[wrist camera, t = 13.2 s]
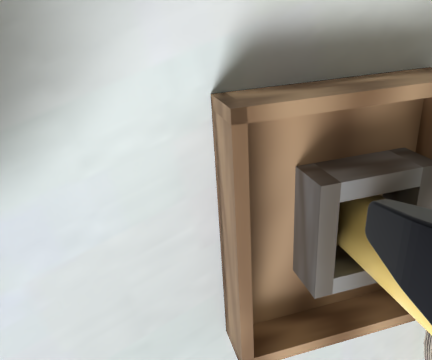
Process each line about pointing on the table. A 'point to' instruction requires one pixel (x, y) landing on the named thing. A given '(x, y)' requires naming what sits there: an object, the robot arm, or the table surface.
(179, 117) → the table surface
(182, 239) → the table surface
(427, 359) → the lighter
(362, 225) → the plug
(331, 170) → the walled box
